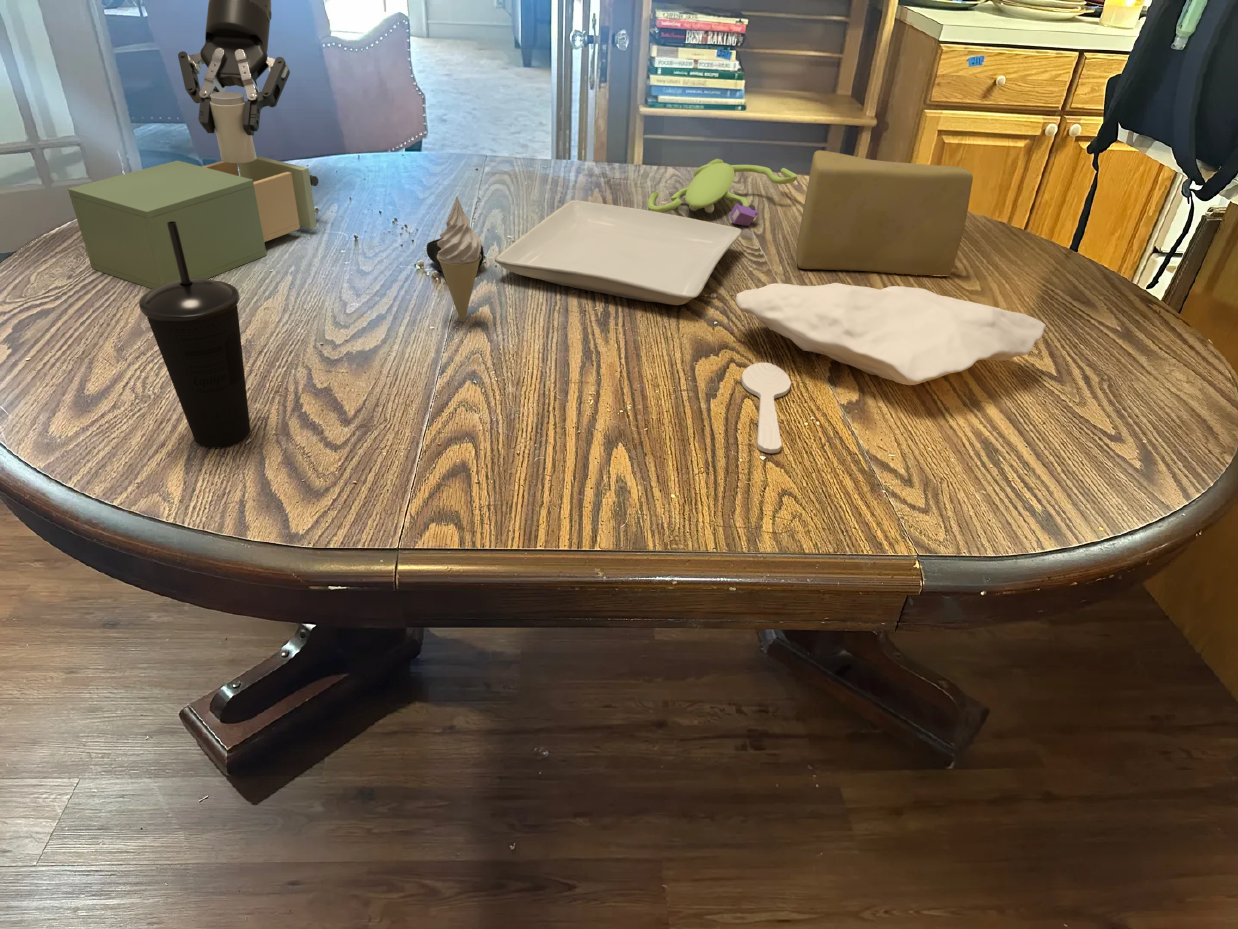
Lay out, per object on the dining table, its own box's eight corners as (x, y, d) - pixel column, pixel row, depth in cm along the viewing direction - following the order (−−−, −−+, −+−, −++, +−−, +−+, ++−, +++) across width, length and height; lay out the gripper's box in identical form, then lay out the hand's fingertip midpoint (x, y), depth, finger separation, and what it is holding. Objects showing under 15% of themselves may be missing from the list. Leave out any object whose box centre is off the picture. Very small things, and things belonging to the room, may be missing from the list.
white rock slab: (1069, 425, 87) (1099, 340, 83) (728, 382, 90) (741, 297, 86) (1003, 354, 108) (1025, 283, 104) (729, 321, 111) (739, 250, 107)
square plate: (570, 220, 133) (570, 195, 131) (740, 251, 126) (744, 225, 124) (492, 282, 112) (491, 253, 109) (692, 323, 105) (696, 293, 103)
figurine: (802, 197, 150) (808, 165, 147) (740, 238, 131) (745, 202, 128) (708, 176, 157) (712, 145, 154) (636, 212, 138) (639, 177, 135)
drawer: (274, 202, 129) (264, 145, 124) (337, 219, 125) (330, 161, 120) (169, 237, 115) (154, 175, 110) (237, 257, 111) (224, 193, 106)
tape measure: (425, 263, 116) (423, 236, 113) (474, 257, 118) (473, 230, 116) (441, 282, 111) (439, 254, 109) (491, 275, 113) (490, 248, 111)
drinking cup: (259, 406, 83) (216, 203, 72) (273, 446, 78) (230, 233, 67) (173, 422, 80) (114, 212, 69) (182, 464, 75) (120, 244, 63)
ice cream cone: (451, 333, 99) (444, 205, 90) (434, 316, 102) (425, 191, 94) (491, 325, 101) (487, 199, 93) (472, 309, 104) (467, 186, 96)
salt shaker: (213, 159, 113) (200, 95, 108) (240, 152, 116) (227, 89, 112) (238, 165, 111) (225, 100, 107) (264, 157, 115) (252, 94, 110)
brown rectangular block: (944, 264, 127) (974, 161, 119) (954, 289, 119) (987, 181, 111) (795, 247, 129) (814, 144, 121) (795, 270, 121) (816, 163, 113)
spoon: (741, 449, 82) (742, 445, 82) (741, 363, 97) (741, 359, 96) (797, 456, 82) (798, 451, 81) (788, 368, 96) (789, 364, 96)
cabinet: (194, 234, 119) (177, 160, 113) (266, 255, 114) (253, 179, 109) (92, 268, 107) (67, 188, 102) (168, 294, 103) (146, 211, 97)
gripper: (171, -11, 109) (157, 111, 106) (286, -4, 110) (275, 117, 107) (195, 28, 116) (183, 144, 113) (302, 34, 117) (293, 149, 114)
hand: (228, 130), depth 110 cm, fingers closed on salt shaker, 4 cm apart
